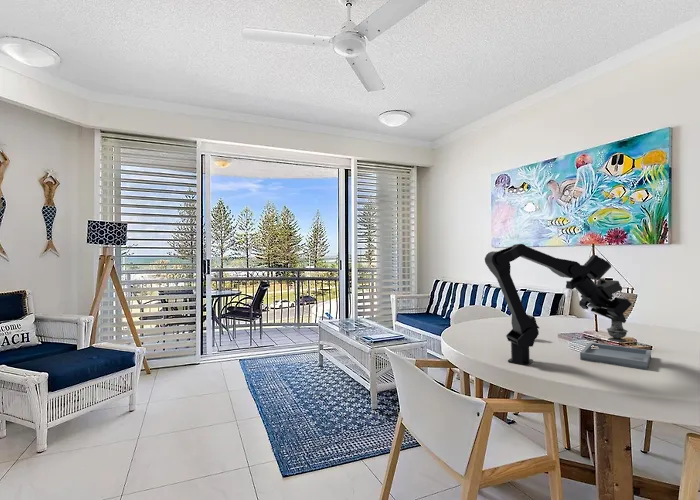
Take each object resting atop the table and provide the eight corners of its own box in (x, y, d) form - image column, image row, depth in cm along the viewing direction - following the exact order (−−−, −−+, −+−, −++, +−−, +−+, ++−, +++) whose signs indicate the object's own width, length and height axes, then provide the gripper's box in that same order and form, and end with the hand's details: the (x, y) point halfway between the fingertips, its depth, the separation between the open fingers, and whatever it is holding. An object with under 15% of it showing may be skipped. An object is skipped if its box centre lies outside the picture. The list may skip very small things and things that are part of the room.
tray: (647, 370, 115) (646, 362, 115) (580, 359, 127) (580, 352, 127) (650, 357, 128) (650, 350, 128) (590, 349, 140) (589, 342, 140)
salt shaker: (613, 337, 130) (613, 303, 130) (631, 341, 125) (631, 306, 125) (602, 339, 128) (602, 305, 128) (620, 343, 123) (619, 307, 123)
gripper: (625, 273, 117) (660, 308, 117) (586, 271, 136) (616, 300, 136) (601, 298, 117) (636, 333, 117) (566, 292, 136) (595, 322, 136)
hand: (620, 320), depth 126 cm, fingers closed on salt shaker, 4 cm apart
